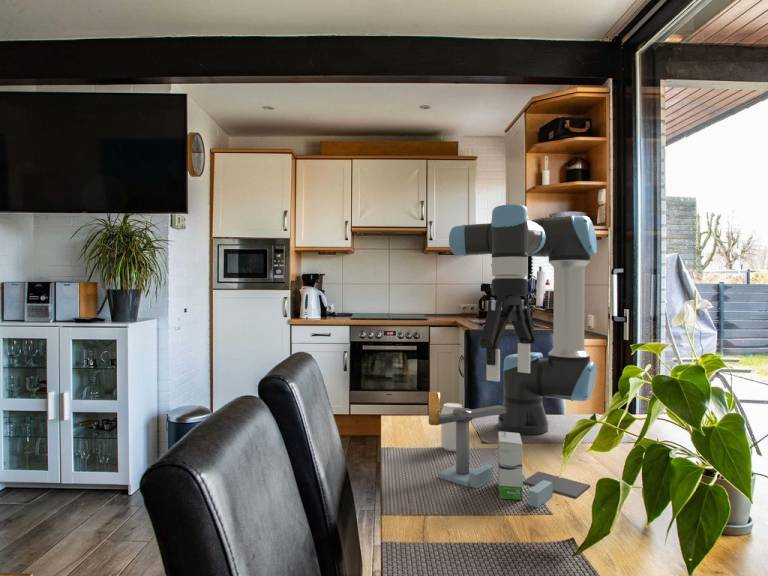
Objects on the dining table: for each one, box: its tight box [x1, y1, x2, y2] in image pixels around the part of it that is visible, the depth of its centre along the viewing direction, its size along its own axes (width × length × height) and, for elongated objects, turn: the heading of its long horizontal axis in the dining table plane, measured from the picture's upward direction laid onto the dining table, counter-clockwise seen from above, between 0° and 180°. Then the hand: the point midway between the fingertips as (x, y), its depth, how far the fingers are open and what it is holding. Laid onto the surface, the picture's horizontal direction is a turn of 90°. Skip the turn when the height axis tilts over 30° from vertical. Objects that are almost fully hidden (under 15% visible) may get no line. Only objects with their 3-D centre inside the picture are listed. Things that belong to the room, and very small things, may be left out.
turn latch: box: [428, 390, 506, 426], centre depth 116 cm, size 4×22×7 cm, turn 120°
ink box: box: [497, 431, 523, 501], centre depth 107 cm, size 9×5×12 cm, turn 168°
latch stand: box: [437, 421, 554, 508], centre depth 110 cm, size 8×24×13 cm, turn 48°
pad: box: [522, 471, 591, 499], centre depth 110 cm, size 8×12×1 cm, turn 48°
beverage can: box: [440, 402, 463, 452], centre depth 135 cm, size 6×6×12 cm
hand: (509, 376), depth 107 cm, fingers open, 13 cm apart
